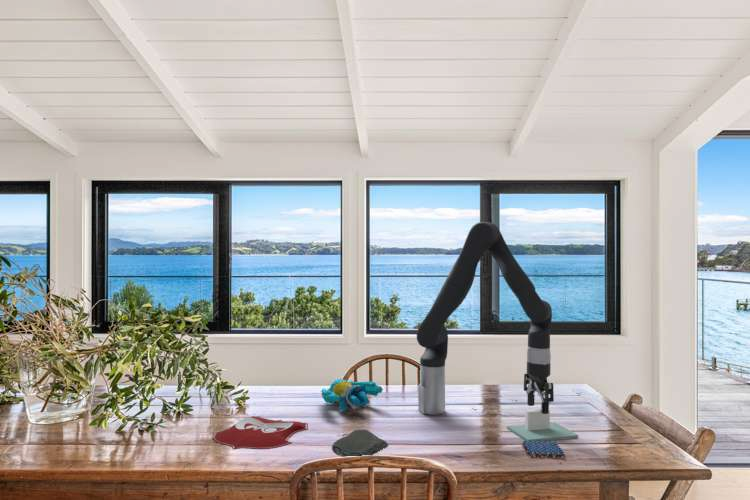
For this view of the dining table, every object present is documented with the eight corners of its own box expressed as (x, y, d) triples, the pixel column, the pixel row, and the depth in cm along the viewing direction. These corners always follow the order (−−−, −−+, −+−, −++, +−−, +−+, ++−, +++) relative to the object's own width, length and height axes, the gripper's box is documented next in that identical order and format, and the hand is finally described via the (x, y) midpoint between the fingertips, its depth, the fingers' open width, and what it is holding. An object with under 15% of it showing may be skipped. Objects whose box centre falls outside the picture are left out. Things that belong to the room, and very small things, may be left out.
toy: (388, 417, 186) (356, 410, 207) (391, 383, 189) (359, 380, 210) (334, 414, 176) (306, 407, 197) (337, 378, 178) (310, 375, 200)
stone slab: (387, 462, 143) (387, 455, 143) (328, 461, 144) (328, 454, 144) (388, 433, 167) (388, 427, 167) (337, 432, 168) (337, 426, 168)
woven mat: (520, 446, 157) (520, 439, 157) (556, 447, 156) (556, 440, 156) (527, 459, 146) (527, 452, 146) (565, 460, 145) (565, 453, 145)
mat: (527, 442, 158) (527, 439, 158) (507, 428, 171) (507, 426, 171) (578, 437, 162) (578, 435, 162) (554, 424, 175) (554, 422, 175)
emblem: (191, 436, 156) (247, 408, 184) (191, 446, 156) (247, 417, 184) (274, 448, 146) (319, 417, 174) (274, 459, 146) (319, 426, 174)
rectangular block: (549, 428, 168) (527, 430, 167) (546, 427, 170) (525, 428, 168) (549, 410, 168) (527, 412, 167) (547, 409, 170) (525, 410, 168)
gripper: (517, 356, 175) (516, 403, 175) (540, 365, 161) (539, 417, 161) (537, 355, 177) (536, 402, 177) (561, 365, 163) (560, 415, 163)
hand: (537, 409), depth 169 cm, fingers open, 8 cm apart
